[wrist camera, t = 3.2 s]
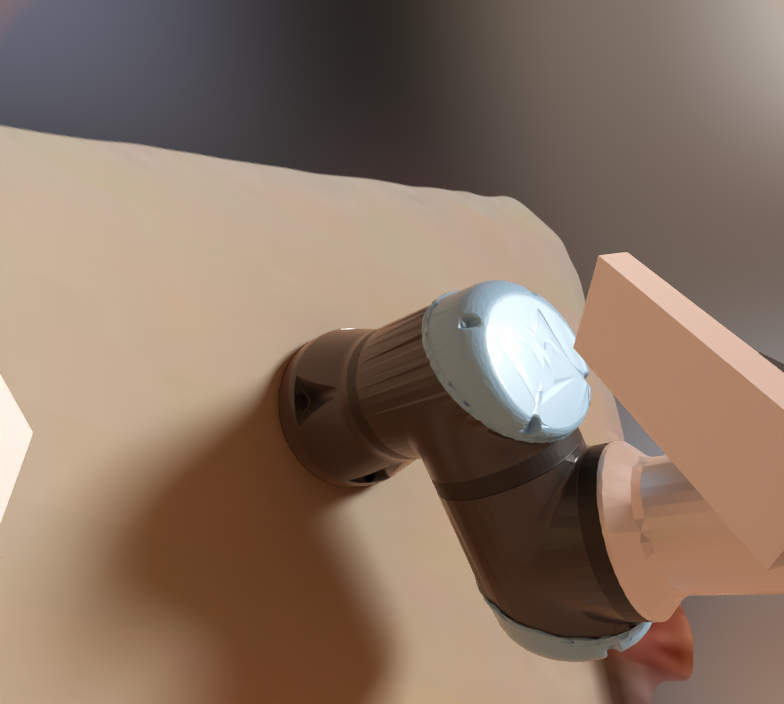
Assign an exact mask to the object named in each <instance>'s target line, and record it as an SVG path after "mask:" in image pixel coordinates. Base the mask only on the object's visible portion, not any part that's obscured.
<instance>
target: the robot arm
mask: <svg viewBox="0 0 784 704" xmlns="http://www.w3.org/2000/svg"><path fill="white" fill-rule="evenodd" d="M587 364H588V365H589V367H590V368H591V369H592V370H593V371H594V372H595V374H596V375H597V376H598V377H599V378H600V379H601V380H602V382H603V383H604V384H605V385H606V386H607V387H608V388H609V390H610V391H611V392H612V393H613V394H614V395H615V396H616V398H617V399H618V400H619V401H620V402H621V403H622V404H623V406H624V407H625V408H626V409H627V410H628V411H629V412H630V414H631V415H632V416H633V417H634V418H635V419H636V421H637V422H638V423H639V424H640V425H641V426H642V428H643V429H644V430H645V431H646V432H647V433H648V434H649V436H650V437H651V438H652V439H653V440H654V441H655V442H656V444H657V445H658V446H659V447H660V448H661V449H662V450H663V452H664V453H665V454H666V455H665V456H658V457H653V458H652V457H649V456H647V455H645V454H643V453H642V452H640V451H639V450H637V449H636V448H634V447H633V446H631V445H629V444H628V443H626V442H623V441H615V442H610V443H605V444H600V445H595V446H588V445H586V443H585V441H584V439H583V437H582V434H581V432H580V430H579V428H578V427H579V425H580V424H581V423H582V421H583V420H584V418H585V416H586V414H587V411H588V408H589V404H590V394H591V389H590V386H589V385H588V384H587V382H586V381H585V378H586V377H587V376H588V374H589V371H588V366H587ZM279 412H280V419H281V424H282V428H283V431H284V434H285V437H286V439H287V441H288V444H289V446H290V447H291V449H292V451H293V452H294V454H295V455H296V457H297V458H298V459H299V461H300V462H301V463H302V464H303V465H304V466H305V467H306V468H307V469H308V470H309V471H310V472H312V473H313V474H314V475H316V476H317V477H319V478H320V479H322V480H324V481H326V482H329V483H331V484H335V485H339V486H345V487H356V486H366V485H373V484H377V483H380V482H382V481H385V480H387V479H389V478H391V477H392V476H394V475H395V474H397V473H398V472H399V471H401V470H402V469H403V468H405V467H406V466H407V465H409V464H410V463H411V462H413V461H414V460H415V459H419V458H422V460H423V462H424V465H425V467H426V469H427V471H428V473H429V475H430V477H431V479H432V482H433V484H434V486H435V488H436V490H437V493H438V495H439V498H440V500H441V502H442V504H443V507H444V509H445V511H446V513H447V515H448V518H449V520H450V522H451V524H452V526H453V529H454V531H455V533H456V535H457V538H458V540H459V542H460V544H461V546H462V549H463V551H464V553H465V555H466V557H467V560H468V562H469V564H470V566H471V568H472V571H473V573H474V575H475V579H476V583H477V586H478V589H479V591H480V593H481V594H482V595H483V598H484V600H485V601H486V602H487V604H488V605H489V606H490V608H491V609H492V610H493V612H494V614H495V616H496V618H497V620H498V622H499V624H500V626H501V627H502V629H503V630H504V631H505V632H506V633H507V635H508V636H509V637H510V638H511V639H512V640H513V641H515V642H516V643H517V644H518V645H520V646H521V647H523V648H525V649H526V650H528V651H530V652H532V653H534V654H537V655H539V656H542V657H545V658H549V659H553V660H558V661H567V662H584V661H593V660H598V659H603V658H606V657H607V650H608V649H616V650H618V651H620V652H622V651H624V650H626V649H628V648H629V647H631V646H632V645H634V644H636V643H637V642H638V641H639V640H640V639H641V638H642V637H643V636H644V634H645V633H646V632H647V631H648V630H649V628H650V626H651V624H652V622H664V621H666V620H668V619H669V618H670V617H671V616H672V614H673V613H674V611H675V610H676V608H677V607H678V605H679V604H680V602H681V601H682V600H683V598H685V597H686V596H688V595H727V594H728V595H733V594H784V364H782V363H781V362H778V361H776V360H774V359H772V358H770V357H768V356H766V355H764V354H762V353H760V352H759V353H758V352H756V351H755V350H754V349H752V348H751V347H750V346H748V345H747V344H746V343H745V342H743V341H742V340H741V339H739V338H738V337H737V336H735V335H734V334H733V333H732V332H730V331H729V330H728V329H726V328H725V327H724V326H722V325H721V324H720V323H718V322H717V321H715V319H713V318H712V317H711V316H709V315H708V314H707V313H706V312H704V311H703V310H702V309H700V308H699V307H698V306H696V305H695V304H694V303H692V302H691V301H690V300H689V299H687V298H686V297H685V296H683V295H682V294H681V293H679V292H678V291H677V290H676V289H674V288H673V287H672V286H670V285H669V284H668V283H666V282H665V281H664V280H663V279H661V278H660V277H659V276H657V275H656V274H655V273H653V272H652V271H651V270H650V269H648V268H647V267H646V266H644V265H643V264H642V263H640V262H639V261H638V260H636V259H635V258H634V257H633V256H631V255H630V254H629V253H627V252H624V253H617V254H607V255H599V257H598V260H597V264H596V267H595V272H594V275H593V278H592V282H591V285H590V289H589V293H588V296H587V300H586V303H585V307H584V311H583V314H582V318H581V321H580V325H579V329H578V332H577V336H575V335H574V333H573V331H572V330H571V328H570V326H569V325H568V324H567V322H566V321H565V319H564V318H563V317H562V316H561V314H560V313H559V312H558V311H557V310H556V309H555V308H554V307H553V306H552V305H551V304H550V303H549V302H548V301H546V300H545V299H544V298H543V297H541V296H540V295H539V294H537V293H534V292H530V291H529V290H528V289H527V288H525V287H524V286H521V285H519V284H516V283H513V282H508V281H499V280H494V281H486V282H482V283H478V284H476V285H473V286H471V287H468V288H466V289H463V290H461V291H452V292H449V293H446V294H444V295H442V296H440V297H439V298H437V299H436V300H434V301H433V302H432V304H431V305H429V306H427V307H425V308H423V309H420V310H418V311H416V312H414V313H411V314H409V315H407V316H405V317H403V318H400V319H398V320H396V321H394V322H392V323H389V324H387V325H385V326H383V327H381V328H379V329H356V328H343V329H338V330H333V331H330V332H327V333H325V334H323V335H321V336H319V337H317V338H315V339H314V340H312V341H310V342H308V343H307V344H306V345H304V346H303V347H302V348H301V349H300V350H299V351H298V352H297V353H296V354H295V355H294V357H293V358H292V359H291V361H290V363H289V364H288V366H287V368H286V371H285V373H284V376H283V379H282V382H281V387H280V394H279ZM32 434H33V432H32V430H31V428H30V427H29V425H28V423H27V421H26V420H25V418H24V416H23V414H22V412H21V411H20V409H19V407H18V405H17V403H16V402H15V400H14V398H13V396H12V394H11V393H10V391H9V389H8V387H7V385H6V384H5V382H4V380H3V378H2V376H1V375H0V523H1V520H2V517H3V515H4V512H5V509H6V506H7V504H8V501H9V498H10V495H11V492H12V490H13V487H14V484H15V481H16V479H17V476H18V473H19V470H20V468H21V465H22V462H23V459H24V456H25V454H26V451H27V448H28V445H29V443H30V440H31V437H32Z"/></svg>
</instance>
